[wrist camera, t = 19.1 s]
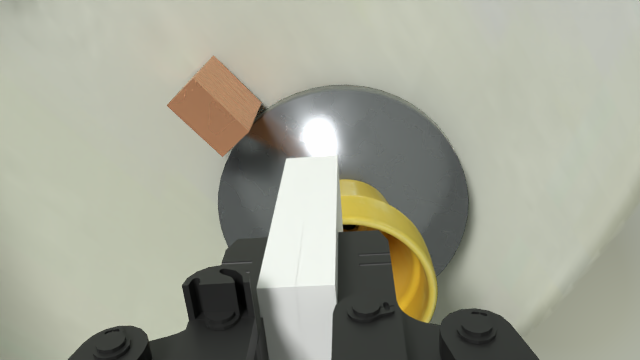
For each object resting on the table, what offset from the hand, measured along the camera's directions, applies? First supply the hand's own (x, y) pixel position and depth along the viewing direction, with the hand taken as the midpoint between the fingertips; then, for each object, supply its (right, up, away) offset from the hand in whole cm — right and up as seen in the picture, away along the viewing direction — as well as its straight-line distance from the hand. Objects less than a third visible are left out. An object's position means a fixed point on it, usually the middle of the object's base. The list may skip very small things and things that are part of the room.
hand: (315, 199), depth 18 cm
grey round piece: (0, +1, +26) cm, 26 cm away
